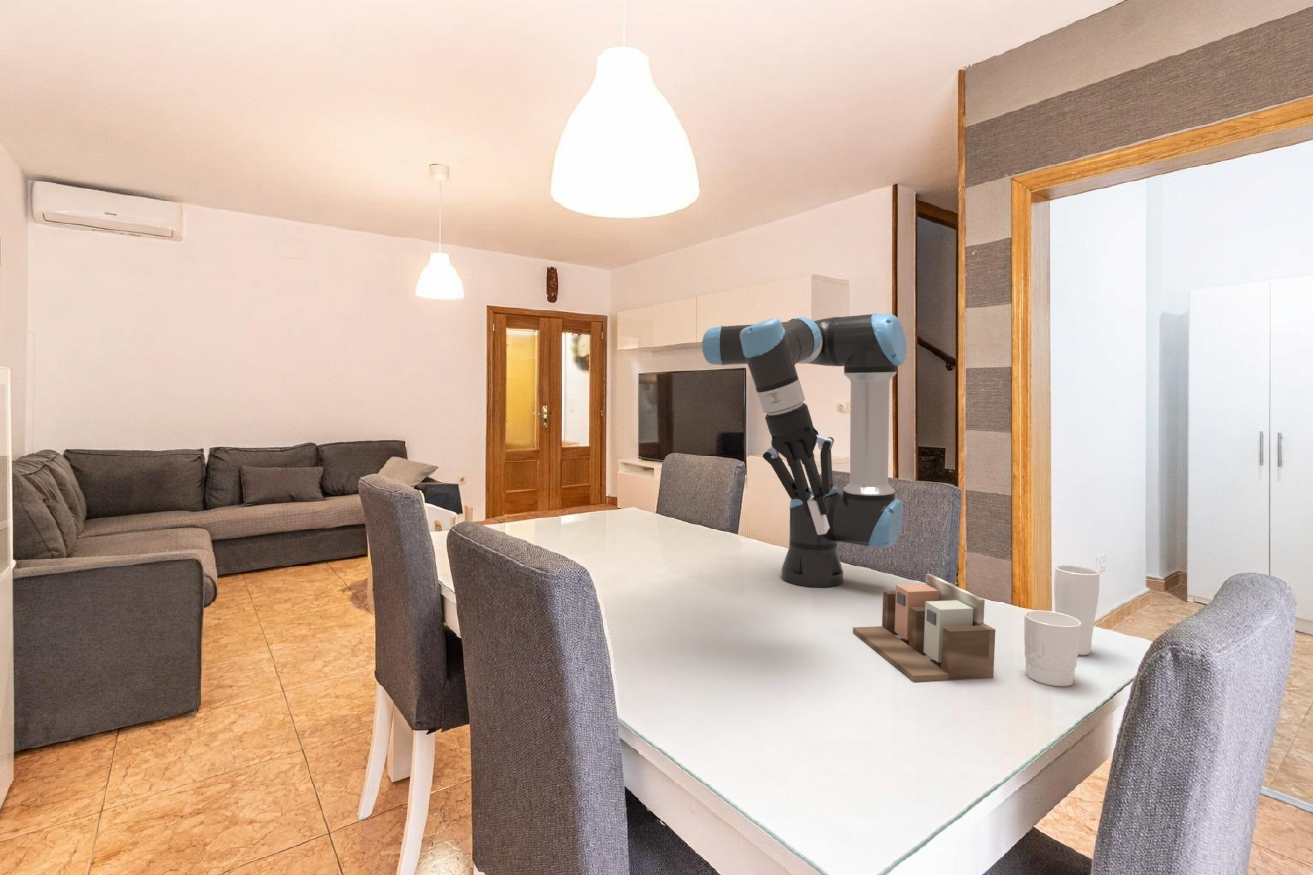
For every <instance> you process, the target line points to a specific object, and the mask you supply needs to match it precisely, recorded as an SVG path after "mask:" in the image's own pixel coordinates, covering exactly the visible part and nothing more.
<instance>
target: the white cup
mask: <svg viewBox="0 0 1313 875" xmlns="http://www.w3.org/2000/svg"><path fill="white" fill-rule="evenodd" d="M1023 617H1024V621H1023V622H1024V624H1023V625H1024V628H1023V629H1024V633H1023V634H1024V635H1023V637H1024V639H1023V641H1024V656H1025V675H1027V677H1028V678H1029V679H1031V680H1033V681H1035V682H1037V683H1041V684H1044V685H1047V686H1052V687H1069V686H1072V685H1074V681H1075V672H1076V671H1075V670H1076V668H1077V660H1078V656H1079V655H1078V648H1079V639H1080V629H1081V622H1080V621H1079V620H1078V619H1076V618H1074V617H1072V616H1069V615H1066V614H1062V613H1057V612H1055V611H1051V610H1042V609H1041V610H1037V609H1036V610H1028V611H1026V612H1024V616H1023Z"/></svg>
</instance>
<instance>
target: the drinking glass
mask: <svg viewBox="0 0 1313 875" xmlns="http://www.w3.org/2000/svg"><path fill="white" fill-rule="evenodd" d="M1053 590H1054V591H1053V592H1054V595H1053V596H1054V612H1057V613H1062V614H1066V615H1069V616H1072V617H1074V618H1076V619H1078V620H1079V621H1080V622H1081V629H1080V639H1079V648H1078V656H1086V655H1089V654H1090V653H1091V651H1092V642H1093V641H1092V640H1093V633H1094V627H1095V620H1096V613H1097V607H1098V602H1099V596H1100V595H1099V594H1100V593H1099V592H1100V572H1099V571H1098V570H1096V569H1094V568H1091V567H1087V566H1082V565H1081V566H1080V565H1074V564H1073V565H1072V564H1062V565H1061V564H1059V565H1057V566H1056V567H1055V571H1054V585H1053Z"/></svg>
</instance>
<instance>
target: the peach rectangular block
mask: <svg viewBox="0 0 1313 875" xmlns="http://www.w3.org/2000/svg"><path fill="white" fill-rule="evenodd" d="M895 591H896V604H895V632H896V633H897V634H899V636H900V637H901V638H903V639H904V640H906V641H909V633H910V608H912V607H925V601H939V591H938V590H936V589H935V588H933V587H931V586H929V585H927V584H926V583H920V584H919V583H915V584H912V583H911V584H895Z"/></svg>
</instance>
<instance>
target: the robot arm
mask: <svg viewBox="0 0 1313 875" xmlns="http://www.w3.org/2000/svg"><path fill="white" fill-rule="evenodd" d="M701 345H702V346H701V347H702V348H701V350H702V354H703V357H704V359H705V360H706V362H707V363H709V364H711V365H717V366H719V365H720V366H729V365H732V366H733V365H747V366H748V369H749V372H750V375H751V378H752V381H753V384H754V387H755V391H756V394H757V397H758V401H759V403H760V406H761V409H762V412H763V413H764V414H766V415H765V417H764V419H765V422H766V426H767V429H768V432H769V434H770V436H771V441H770V442H771V447H769V448H768V449H767V450H766V451H765V452H764V453H763V454H762V458H763V459H764V460H765V461H766V462H767V463H768V464H769V465H770V466H771V467H772V469H773V471H774V472H775V475H776V476H777V478H778V480H779V481H780V483H781V484H782V486H783V487H784V489H785V491H786V493H787V494H788V497H789V498H790V502H789V503H790V504H789V508H788V509H789V538H788V540H789V547H788V549H787V552H786V555H785V559H784V561H783V563H782V567H781V578H782V580H783V581H786V582H788V583H790V584H794V585H797V586H802V587H803V586H804V587H811V588H813V587H814V588H827V587H828V588H830V587H831V588H832V587H837V586H839V585H842V584H843V583H844V570H843V566H842V564H841V560H840V556H839V552H838V542H839V543H845V544H851V545H857V546H858V545H859V546H864V547H868V548H880V549H887V548H890V547H892V546H893V545H894V544H895V543H896V541H897V539H898V537H899V534H900V532H901V529H902V525H903V520H904V513H905V512H904V508H905V507H904V503H903V501H902V500H900V499H899V498H896V497H895V496H896V495H895V494H896V490H895V489H894V488H893V486H892V485H890V483H889V452H890V450H889V446H890V445H889V442H890V440H889V439H890V438H889V437H890V436H889V435H890V433H889V432H890V428H889V427H890V383H891V382H890V381H891V379H892V378H893V377H895V376H896V374H897V373H898V372H897V371H898V370H897V369H898V368H897V367H898V366H901V365H903V364H904V363H905V361H906V359H907V358H906V357H907V356H906V355H907V340H906V335H905V330H904V328H903V325H902V323H901V321H900V320H899V318H898V316H896V315H894V314H892V313H871V314H870V313H869V314H862V315H848V316H847V315H846V316H832V317H827V318H822V319H817V320H813V319H810V318H808V317H805V316H804V317H801V316H800V317H794V318H790V320H788V321H781V320H780V319H778V318H777V317H773V318H770V319H767V320H763V321H760V322H758V323H754V324H753V323H752V324H740V325H739V324H738V325H728V326H727V325H725V326H724V325H720V326H715V327H710V328H708V329H707V330H706V331H705V333H704V334H703V337H702V341H701ZM797 364H803V365H805V364H809V365H810V364H811V365H816V366H826V367H843V374H844V376H845V377H846V379H848V380H849V381H850V405H849V406H850V413H849V414H850V420H849V422H850V423H849V424H850V432H849V433H850V435H849V436H850V437H849V438H850V439H849V483H847V484H846V485H845V486H844V487H843V489H842V492H843V493H840V490H839V488H838V487H837V486H834V480H833V462H832V461H833V460H832V447H833V445H834V442H835V439H834V437H832V436H829V437H824V436H823V435H820V433H819V432H818V430H817V429H816V428H815V427H814V425H813V420H812V416H811V414H810V410H809V407H808V404H806V403H805V400H806V397H805V393H804V392H803V388H802V385H801V382H800V379H799V376H798V372H797V370H796V365H797ZM816 445H818V450H820V455H819V456H820V457H819V458H820V472H821V473H820V474H821V475H820V474H819V470H818V467H817V463H816V460H815V454H814V451H815V447H816ZM781 456H783V457H784V458H785V460H786V462H787V465H786V464H785V462H784V461H783V459H782V458H781ZM787 466H788V467H789V468H790V471H789V469H788V467H787ZM790 472H791V473H790ZM806 476H807V477H806ZM807 479H808V480H807ZM808 482H809V483H808Z"/></svg>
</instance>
